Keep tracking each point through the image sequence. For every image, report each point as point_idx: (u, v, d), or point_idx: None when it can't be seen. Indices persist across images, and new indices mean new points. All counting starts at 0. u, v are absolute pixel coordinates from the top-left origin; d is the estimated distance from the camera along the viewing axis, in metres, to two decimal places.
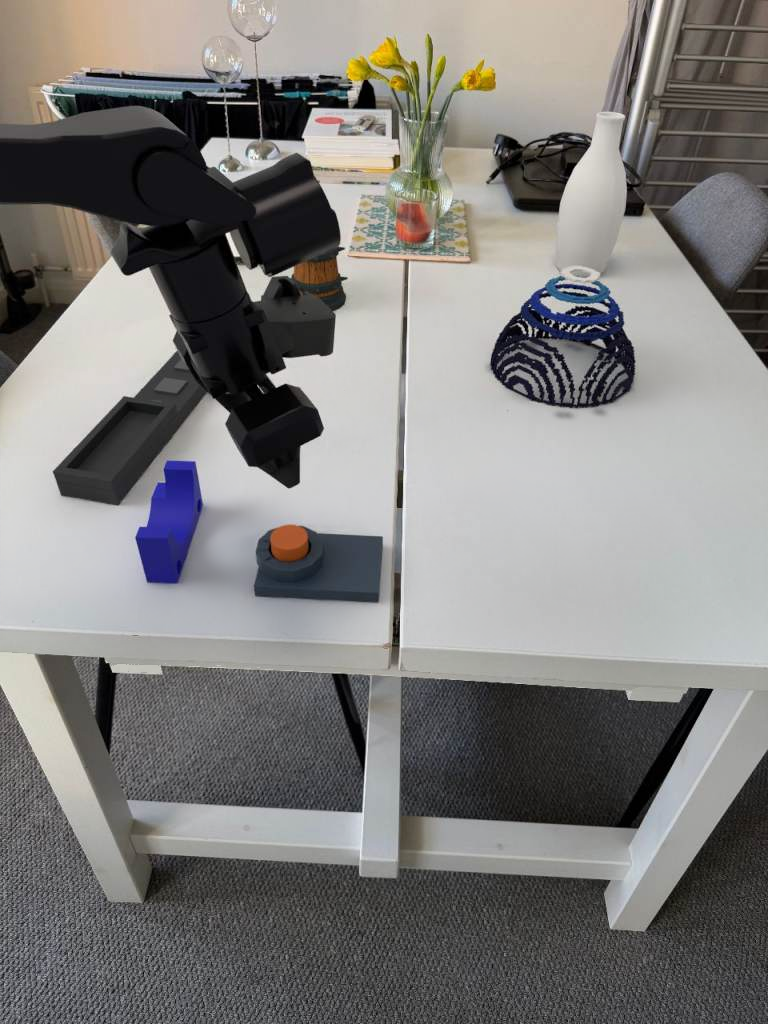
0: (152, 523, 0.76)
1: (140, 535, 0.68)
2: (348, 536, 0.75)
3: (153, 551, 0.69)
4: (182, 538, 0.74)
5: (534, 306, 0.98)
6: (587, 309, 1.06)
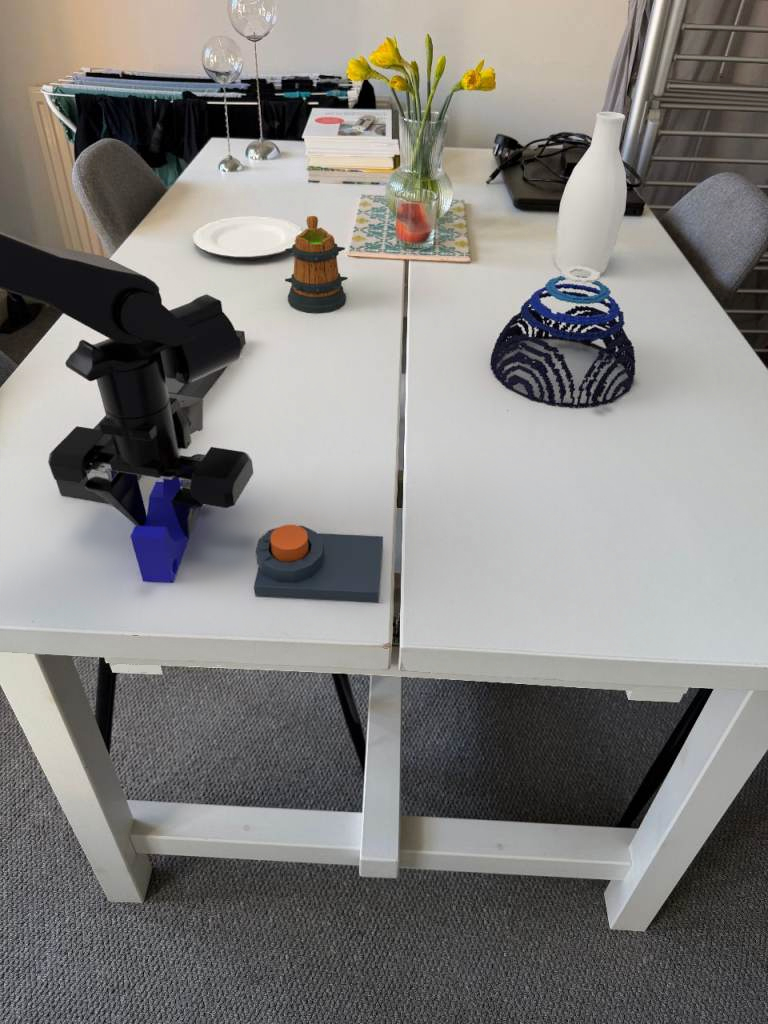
0: (149, 522, 0.76)
1: (136, 534, 0.68)
2: (348, 536, 0.75)
3: (148, 550, 0.69)
4: (178, 537, 0.74)
5: (534, 306, 0.98)
6: (587, 309, 1.06)
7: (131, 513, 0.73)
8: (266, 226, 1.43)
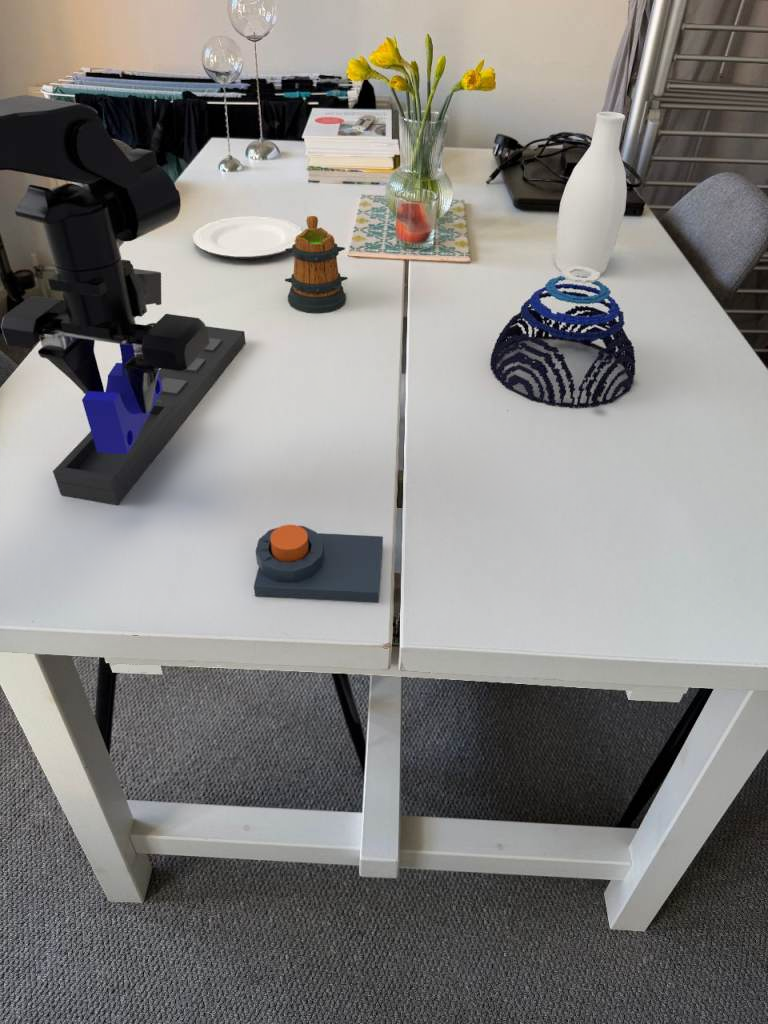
0: None
1: (87, 398, 0.67)
2: (348, 536, 0.75)
3: (101, 416, 0.68)
4: (135, 412, 0.73)
5: (534, 306, 0.98)
6: (587, 309, 1.06)
7: (87, 386, 0.72)
8: (266, 226, 1.43)
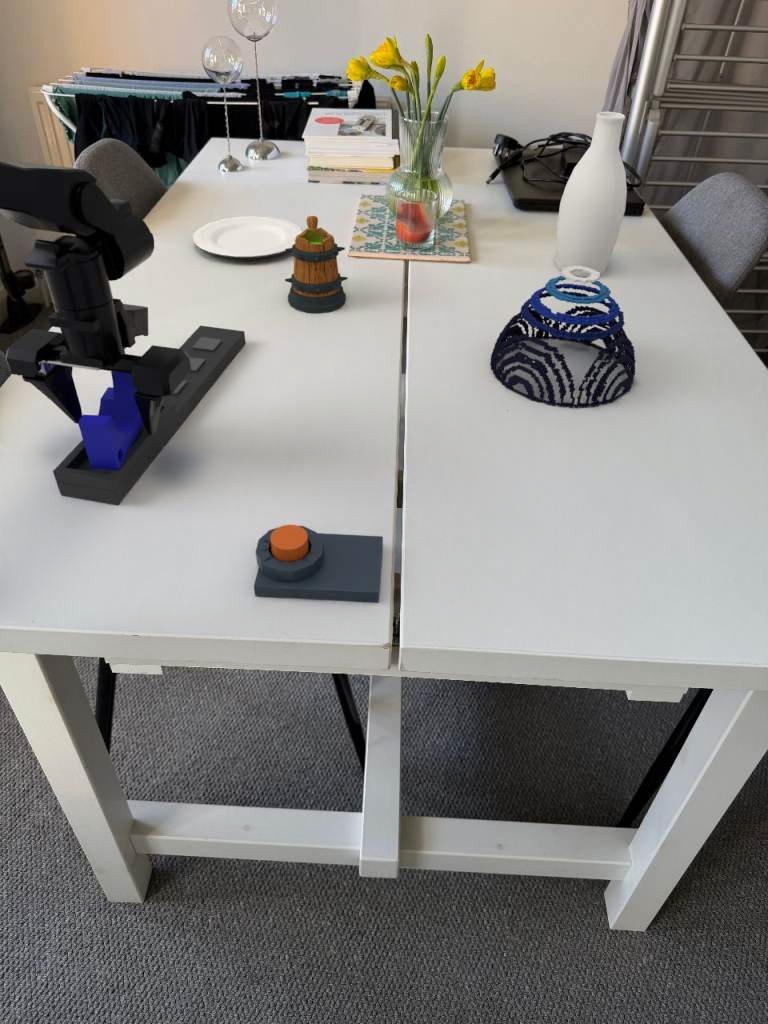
0: None
1: (83, 421, 0.76)
2: (348, 536, 0.75)
3: (94, 437, 0.77)
4: (125, 432, 0.82)
5: (534, 306, 0.98)
6: (587, 309, 1.06)
7: (66, 406, 0.82)
8: (266, 226, 1.43)
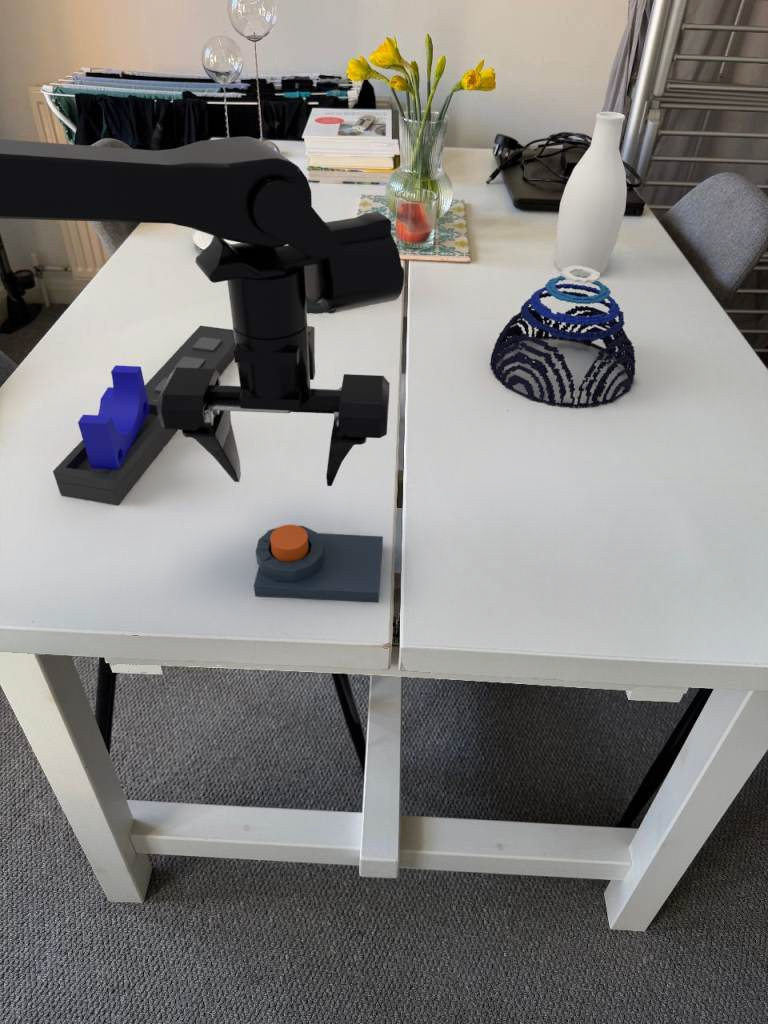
0: None
1: (83, 421, 0.76)
2: (348, 536, 0.75)
3: (94, 437, 0.77)
4: (125, 432, 0.82)
5: (534, 306, 0.98)
6: (587, 309, 1.06)
7: (231, 462, 0.64)
8: None
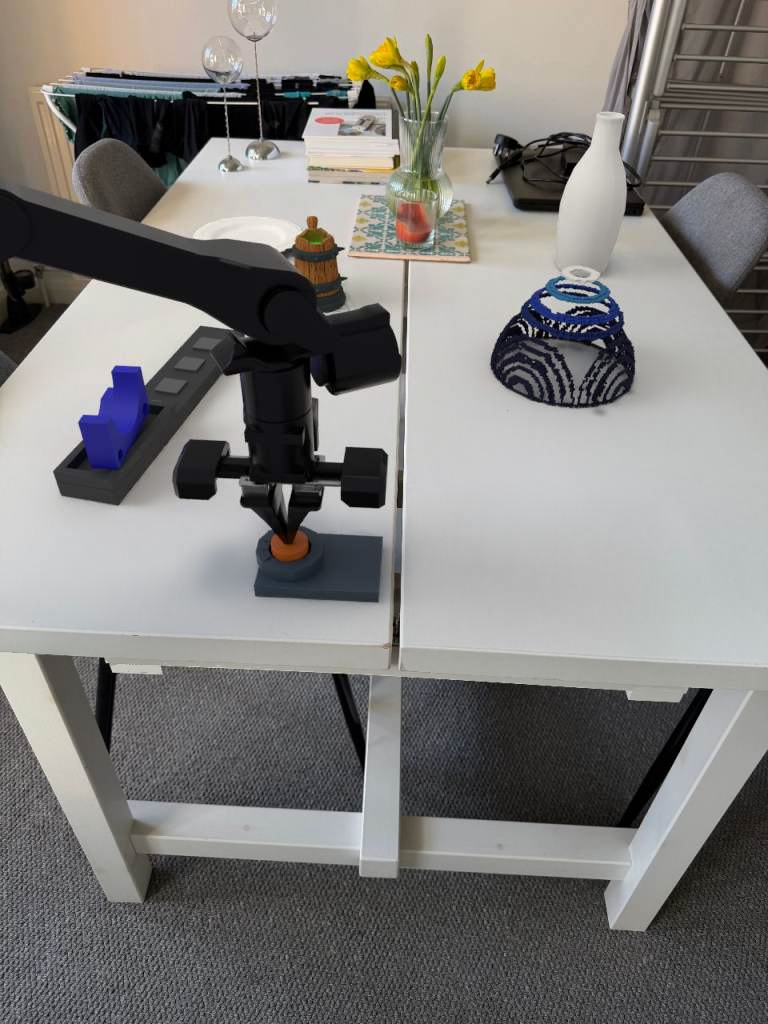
0: None
1: (83, 421, 0.76)
2: (348, 536, 0.75)
3: (94, 437, 0.77)
4: (125, 432, 0.82)
5: (534, 306, 0.98)
6: (587, 309, 1.06)
7: (282, 528, 0.68)
8: (266, 226, 1.43)
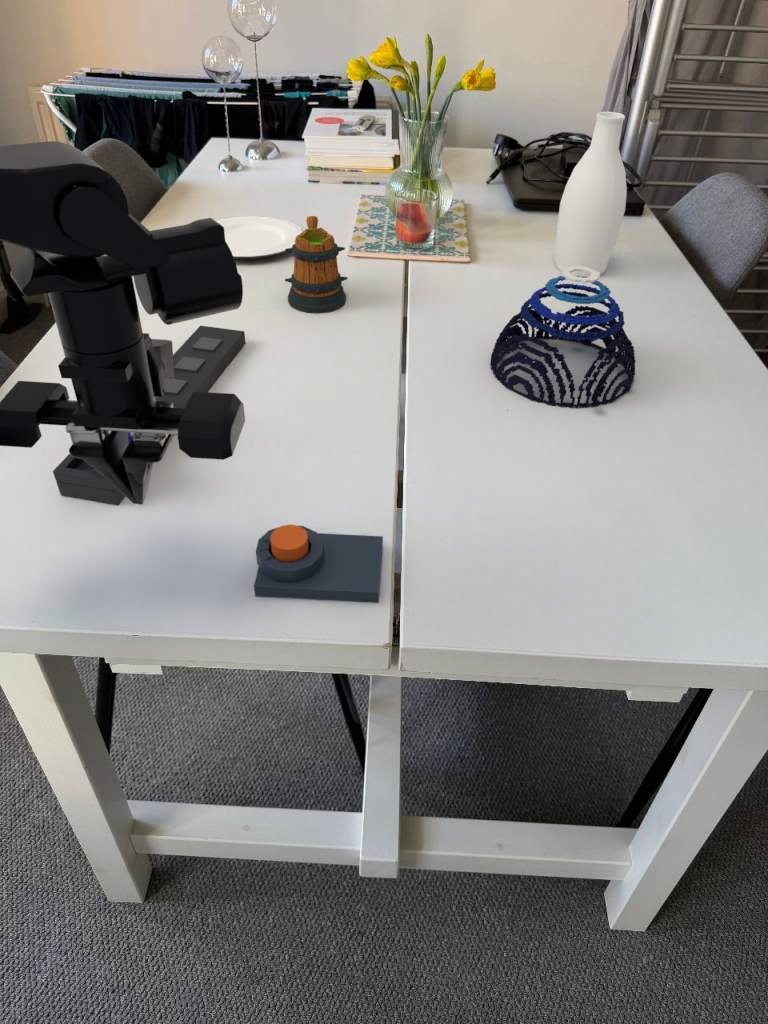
0: None
1: None
2: (348, 536, 0.75)
3: None
4: None
5: (534, 306, 0.98)
6: (587, 309, 1.06)
7: (126, 484, 0.61)
8: (266, 226, 1.43)
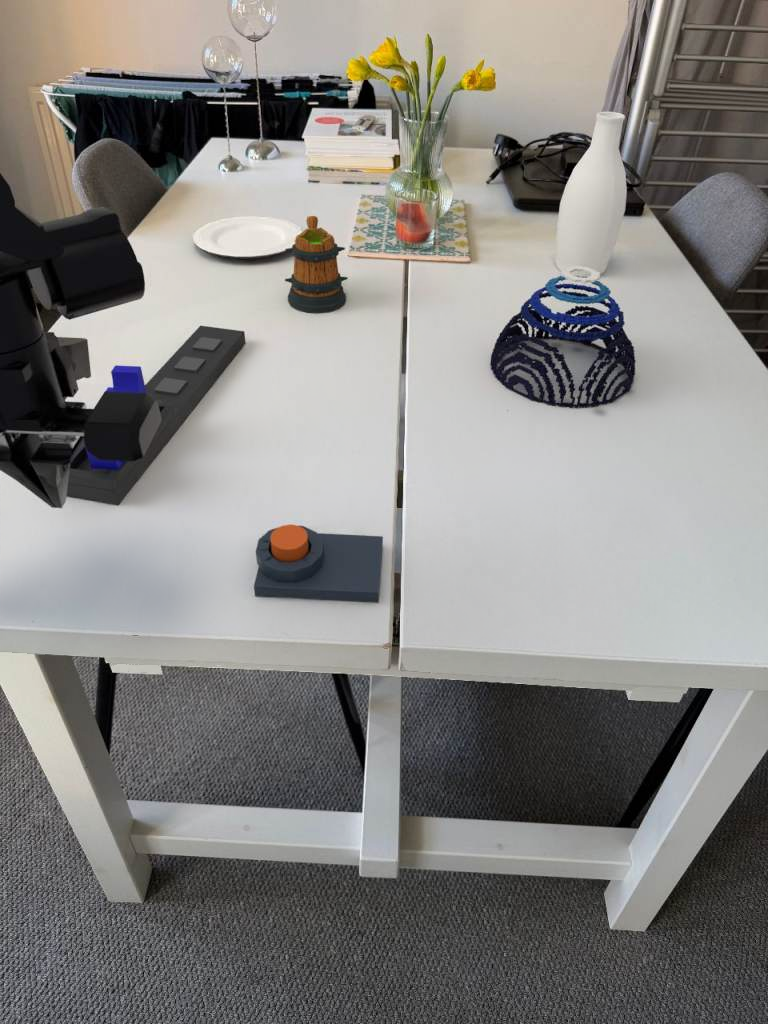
0: None
1: None
2: (348, 536, 0.75)
3: None
4: None
5: (534, 306, 0.98)
6: (587, 309, 1.06)
7: (40, 487, 0.59)
8: (266, 226, 1.43)
